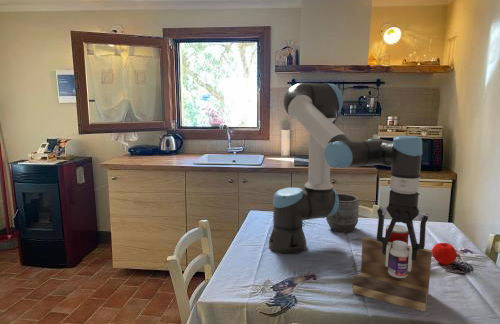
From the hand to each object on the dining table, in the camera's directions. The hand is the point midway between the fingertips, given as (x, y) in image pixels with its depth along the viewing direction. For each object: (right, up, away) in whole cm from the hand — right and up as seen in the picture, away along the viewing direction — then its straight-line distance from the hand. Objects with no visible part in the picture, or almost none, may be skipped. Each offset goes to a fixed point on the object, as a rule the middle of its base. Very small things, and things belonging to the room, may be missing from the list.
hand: (398, 266), depth 104 cm
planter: (-2, 0, +59) cm, 59 cm away
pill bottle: (0, -2, 0) cm, 2 cm away
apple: (+26, -6, +24) cm, 36 cm away
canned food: (+12, -5, +30) cm, 33 cm away
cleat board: (-1, -9, +4) cm, 10 cm away
